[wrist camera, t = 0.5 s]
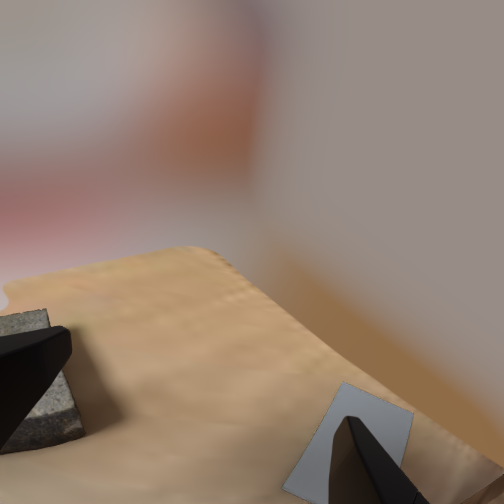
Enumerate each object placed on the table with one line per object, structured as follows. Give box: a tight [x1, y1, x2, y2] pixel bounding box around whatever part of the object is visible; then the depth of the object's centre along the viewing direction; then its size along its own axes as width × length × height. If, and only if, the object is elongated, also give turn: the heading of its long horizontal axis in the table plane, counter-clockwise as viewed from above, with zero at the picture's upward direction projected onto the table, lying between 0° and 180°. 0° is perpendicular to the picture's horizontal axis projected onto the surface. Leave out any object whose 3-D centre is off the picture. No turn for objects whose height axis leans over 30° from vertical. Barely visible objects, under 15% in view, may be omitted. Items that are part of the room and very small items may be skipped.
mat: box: [281, 382, 414, 504], centre depth 23 cm, size 14×9×1 cm, turn 148°
